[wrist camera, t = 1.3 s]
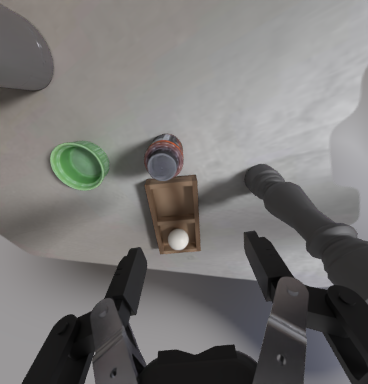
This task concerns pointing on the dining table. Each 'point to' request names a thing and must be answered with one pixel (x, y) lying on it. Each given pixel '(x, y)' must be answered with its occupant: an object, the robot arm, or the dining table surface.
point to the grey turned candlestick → (314, 229)
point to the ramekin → (79, 164)
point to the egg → (178, 239)
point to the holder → (174, 210)
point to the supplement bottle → (164, 157)
